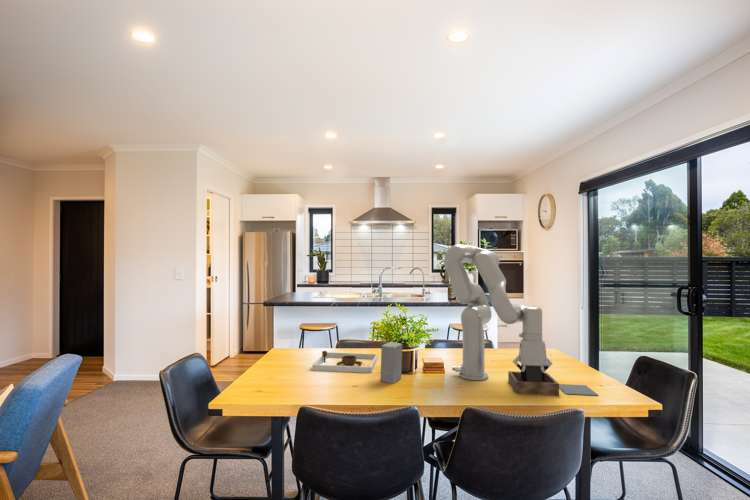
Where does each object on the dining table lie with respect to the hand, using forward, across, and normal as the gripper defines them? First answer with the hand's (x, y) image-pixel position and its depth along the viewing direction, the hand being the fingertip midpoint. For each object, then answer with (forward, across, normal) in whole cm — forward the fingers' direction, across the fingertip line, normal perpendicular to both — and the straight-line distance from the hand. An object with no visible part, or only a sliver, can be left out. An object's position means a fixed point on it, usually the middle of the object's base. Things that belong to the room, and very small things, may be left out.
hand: (532, 380), depth 163 cm
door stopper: (+3, 0, 0) cm, 3 cm away
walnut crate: (+3, 0, 0) cm, 3 cm away
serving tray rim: (+3, -82, +25) cm, 86 cm away
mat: (+3, +17, 0) cm, 17 cm away
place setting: (+4, -83, +26) cm, 87 cm away
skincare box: (+3, -58, +2) cm, 58 cm away
